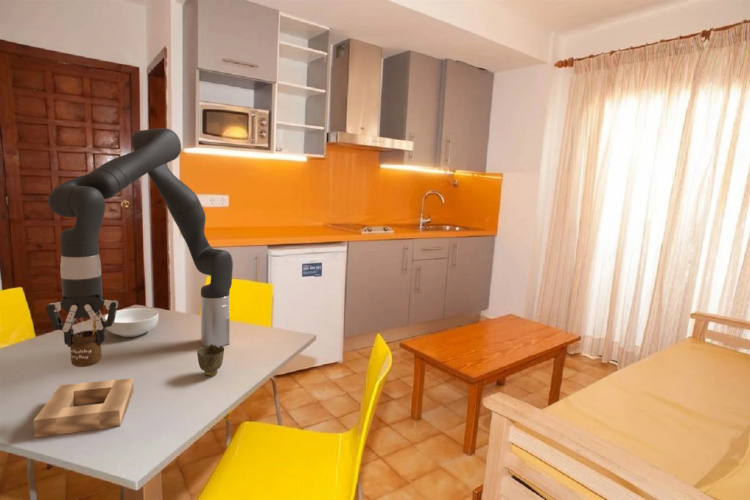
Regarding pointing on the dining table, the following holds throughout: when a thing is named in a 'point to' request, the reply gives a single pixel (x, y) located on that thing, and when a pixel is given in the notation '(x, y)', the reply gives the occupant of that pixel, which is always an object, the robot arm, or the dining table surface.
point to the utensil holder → (85, 347)
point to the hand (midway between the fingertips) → (85, 344)
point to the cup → (210, 359)
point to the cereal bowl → (133, 322)
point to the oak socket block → (84, 407)
